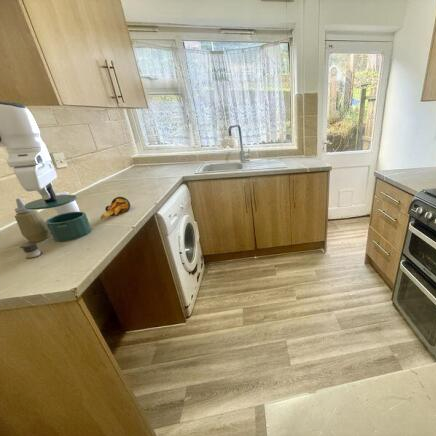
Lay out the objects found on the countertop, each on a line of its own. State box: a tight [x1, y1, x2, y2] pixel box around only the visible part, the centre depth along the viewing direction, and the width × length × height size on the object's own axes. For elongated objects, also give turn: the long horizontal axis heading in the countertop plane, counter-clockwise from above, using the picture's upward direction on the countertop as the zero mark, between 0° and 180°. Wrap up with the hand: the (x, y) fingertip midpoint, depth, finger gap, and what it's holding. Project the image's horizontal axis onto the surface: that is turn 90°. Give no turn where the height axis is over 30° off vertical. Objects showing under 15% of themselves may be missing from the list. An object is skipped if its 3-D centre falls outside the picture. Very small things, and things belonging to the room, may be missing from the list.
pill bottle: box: [53, 191, 81, 215], centre depth 114 cm, size 8×8×15 cm
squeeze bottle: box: [14, 198, 50, 243], centre depth 99 cm, size 8×8×18 cm
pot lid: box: [24, 187, 78, 211], centre depth 84 cm, size 14×14×6 cm
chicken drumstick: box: [100, 196, 131, 220], centre depth 123 cm, size 9×11×18 cm
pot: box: [45, 211, 92, 243], centre depth 104 cm, size 13×18×8 cm
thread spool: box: [19, 241, 43, 260], centre depth 89 cm, size 4×4×5 cm
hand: (49, 197), depth 84 cm, fingers closed on pot lid, 3 cm apart
